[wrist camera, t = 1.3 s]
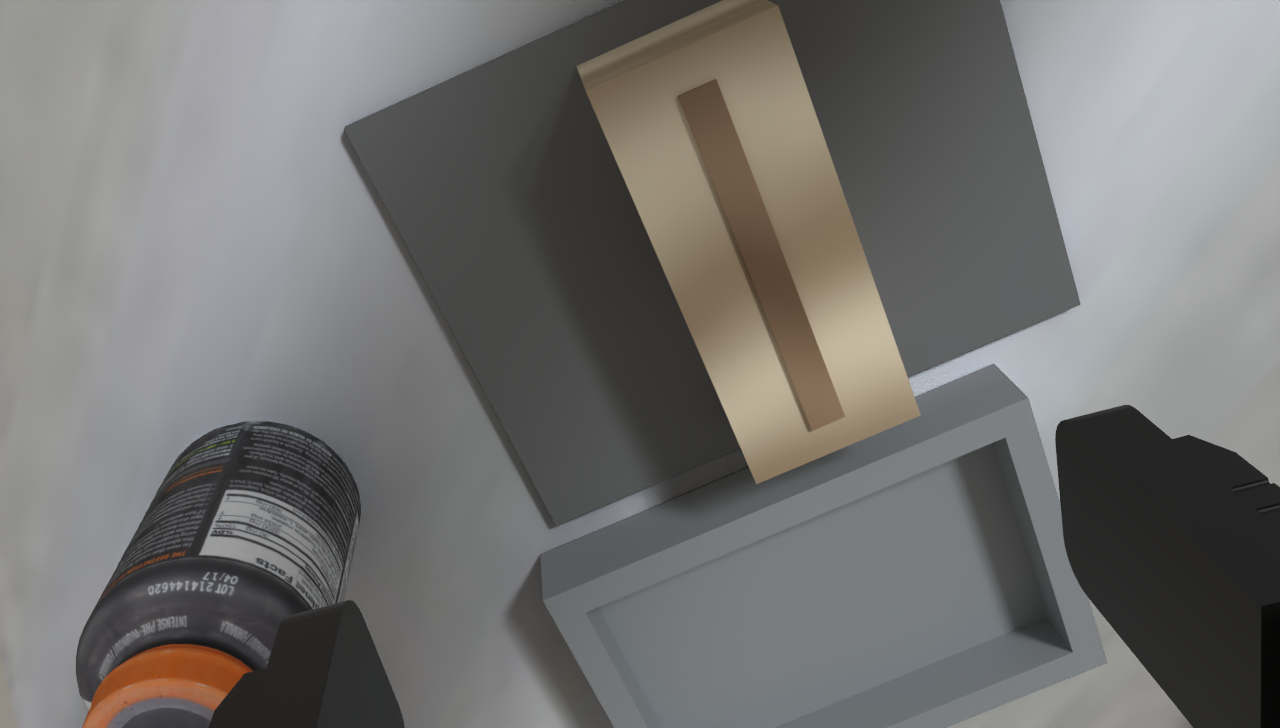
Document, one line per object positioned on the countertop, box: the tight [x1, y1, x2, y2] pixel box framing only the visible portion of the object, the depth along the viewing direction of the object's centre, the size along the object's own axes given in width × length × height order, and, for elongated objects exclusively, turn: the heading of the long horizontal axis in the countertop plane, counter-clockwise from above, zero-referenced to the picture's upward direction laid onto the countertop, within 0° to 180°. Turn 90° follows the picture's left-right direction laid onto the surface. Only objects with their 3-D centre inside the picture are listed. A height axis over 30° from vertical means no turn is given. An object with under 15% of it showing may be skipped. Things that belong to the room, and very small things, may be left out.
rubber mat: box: [344, 0, 1080, 526], centre depth 33 cm, size 18×14×1 cm
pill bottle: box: [76, 422, 361, 728], centre depth 30 cm, size 6×6×11 cm
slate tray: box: [540, 364, 1107, 728], centre depth 38 cm, size 16×11×3 cm
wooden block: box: [576, 0, 921, 484], centre depth 31 cm, size 12×5×4 cm, turn 23°
